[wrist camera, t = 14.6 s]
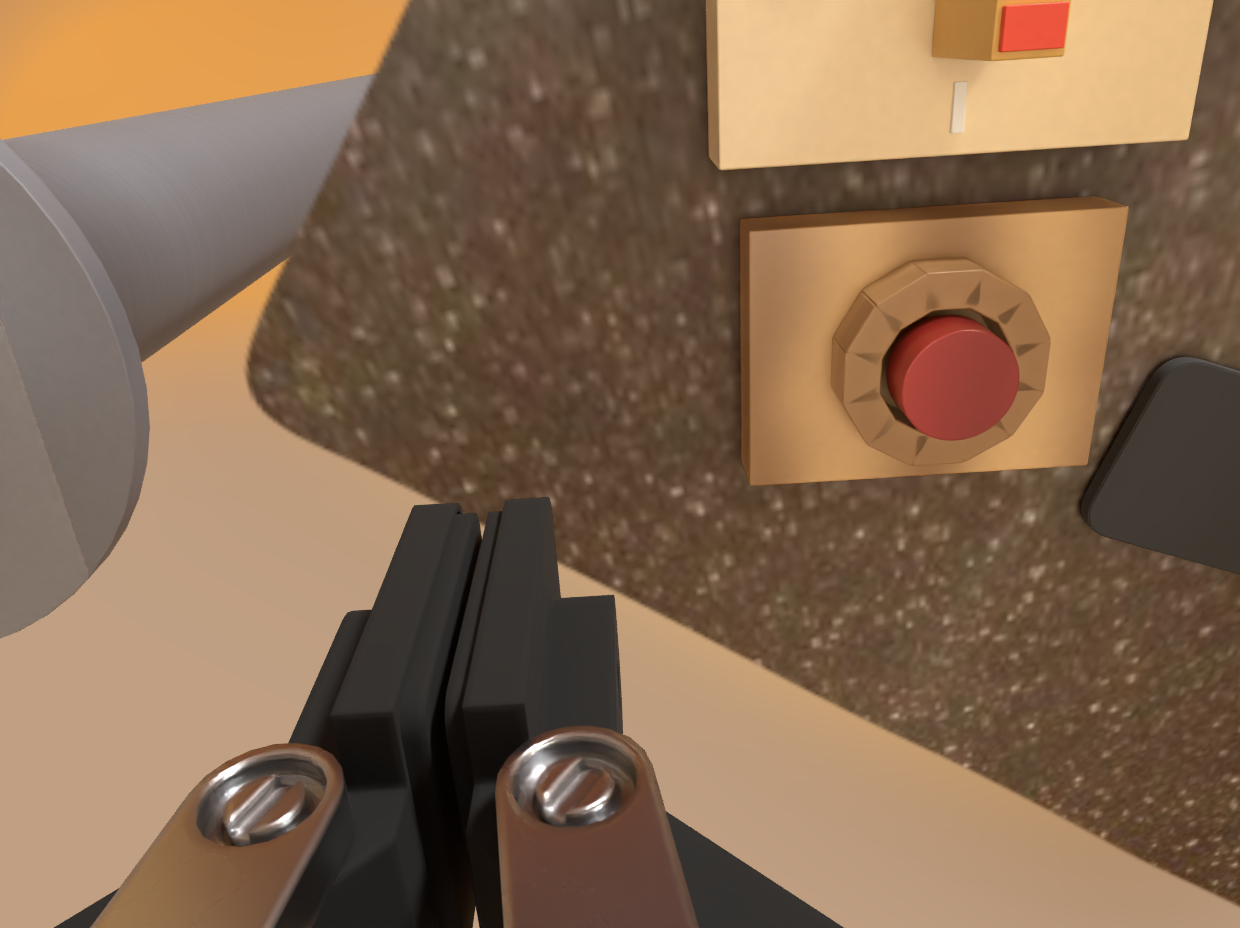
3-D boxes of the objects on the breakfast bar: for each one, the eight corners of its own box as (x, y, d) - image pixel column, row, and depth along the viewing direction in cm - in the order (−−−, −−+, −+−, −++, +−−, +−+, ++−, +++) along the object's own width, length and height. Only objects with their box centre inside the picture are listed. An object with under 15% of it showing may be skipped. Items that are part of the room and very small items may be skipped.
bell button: (882, 423, 31) (897, 444, 29) (889, 317, 29) (905, 333, 28) (992, 416, 31) (1013, 437, 29) (1003, 310, 29) (1026, 326, 28)
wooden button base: (741, 461, 35) (757, 510, 32) (739, 218, 32) (757, 242, 28) (1060, 441, 35) (1113, 488, 32) (1096, 195, 32) (1161, 216, 28)
